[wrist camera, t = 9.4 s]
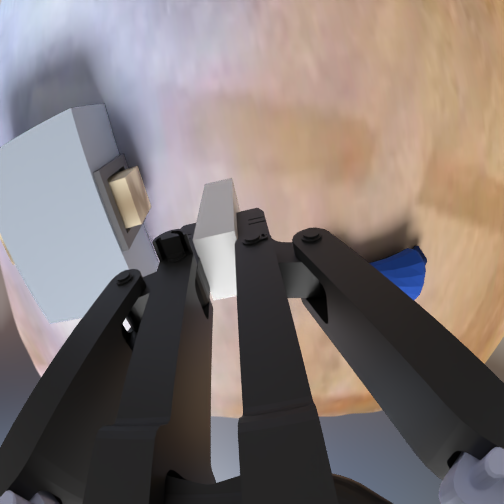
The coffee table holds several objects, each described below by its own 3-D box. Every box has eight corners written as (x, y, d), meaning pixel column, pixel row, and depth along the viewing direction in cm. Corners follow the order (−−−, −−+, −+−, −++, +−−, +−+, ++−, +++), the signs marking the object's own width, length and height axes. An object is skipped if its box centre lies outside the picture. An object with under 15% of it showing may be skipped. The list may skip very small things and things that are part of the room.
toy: (415, 234, 36) (305, 249, 35) (443, 257, 30) (323, 280, 29) (406, 278, 39) (305, 298, 38) (430, 304, 34) (320, 332, 32)
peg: (16, 213, 27) (-4, 229, 23) (137, 165, 26) (125, 177, 23) (30, 246, 29) (13, 265, 25) (151, 206, 28) (141, 223, 25)
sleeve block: (15, 147, 25) (-26, 165, 18) (109, 101, 25) (77, 104, 18) (72, 284, 33) (49, 323, 27) (163, 261, 33) (152, 303, 27)
